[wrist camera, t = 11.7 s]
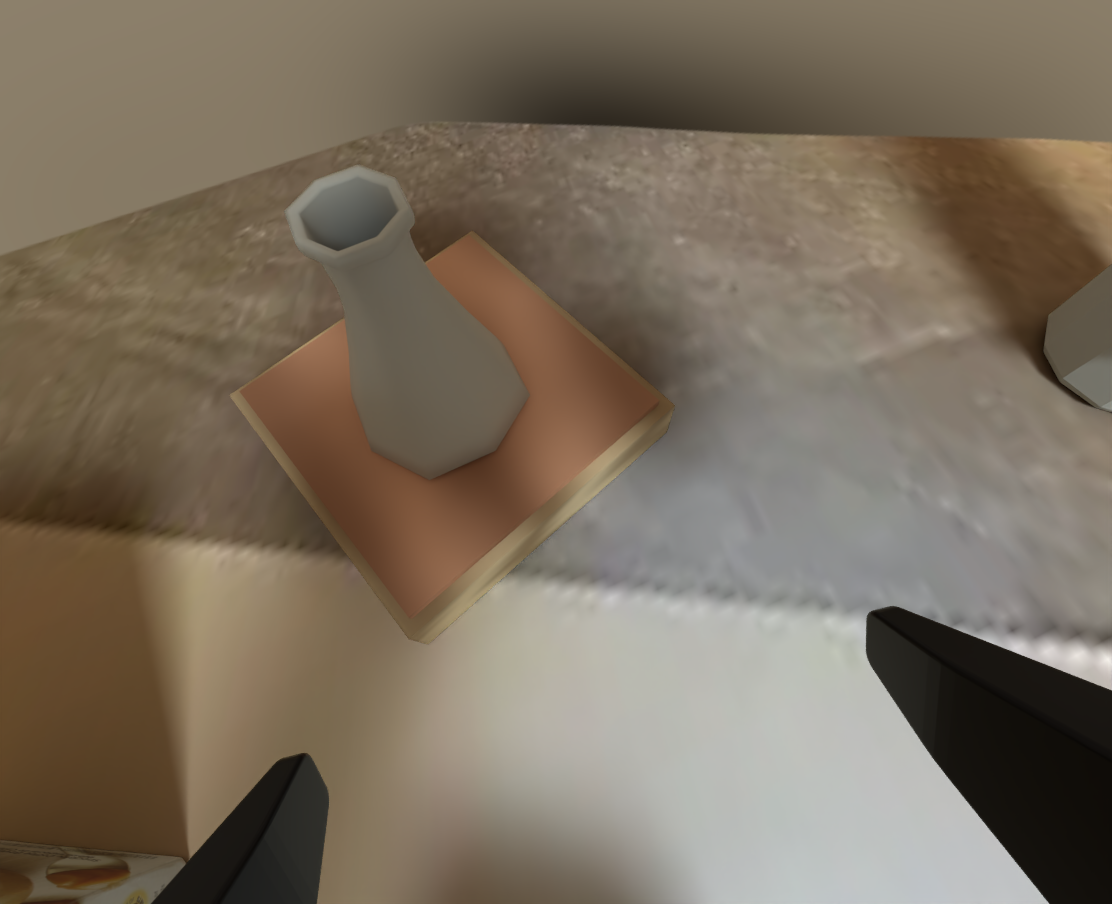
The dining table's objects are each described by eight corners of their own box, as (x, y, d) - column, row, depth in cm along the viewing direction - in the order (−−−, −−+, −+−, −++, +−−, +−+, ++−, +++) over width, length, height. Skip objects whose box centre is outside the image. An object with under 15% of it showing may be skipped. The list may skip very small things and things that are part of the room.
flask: (427, 513, 21) (304, 378, 12) (325, 399, 23) (158, 213, 14) (560, 398, 23) (543, 203, 14) (453, 302, 25) (377, 82, 16)
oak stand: (428, 644, 22) (405, 637, 19) (261, 421, 27) (223, 391, 24) (666, 432, 25) (676, 400, 22) (481, 267, 30) (470, 224, 27)
